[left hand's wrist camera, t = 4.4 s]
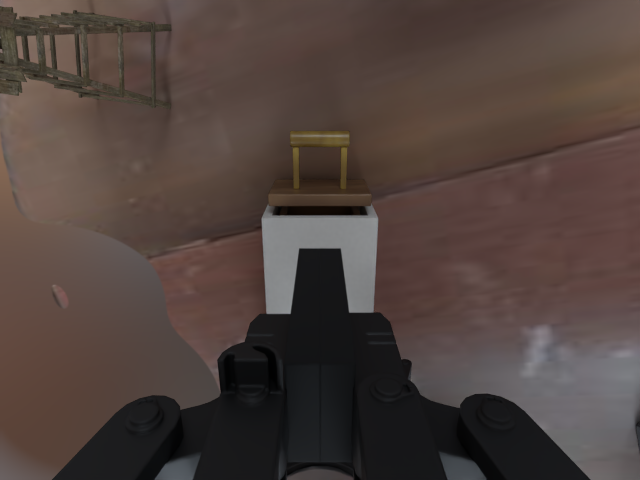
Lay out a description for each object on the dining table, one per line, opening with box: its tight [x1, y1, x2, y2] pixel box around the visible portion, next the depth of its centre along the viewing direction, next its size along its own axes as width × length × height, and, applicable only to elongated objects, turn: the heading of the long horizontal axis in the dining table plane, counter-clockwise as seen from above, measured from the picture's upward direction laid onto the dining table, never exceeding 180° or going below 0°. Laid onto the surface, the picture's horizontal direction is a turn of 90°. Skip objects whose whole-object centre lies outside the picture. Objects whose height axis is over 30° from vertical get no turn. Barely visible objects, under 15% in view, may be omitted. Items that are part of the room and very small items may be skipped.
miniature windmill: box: [0, 6, 171, 109], centre depth 29 cm, size 9×8×30 cm
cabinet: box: [262, 204, 378, 314], centre depth 47 cm, size 20×11×9 cm, turn 0°
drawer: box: [268, 131, 372, 216], centre depth 45 cm, size 24×10×7 cm, turn 0°
